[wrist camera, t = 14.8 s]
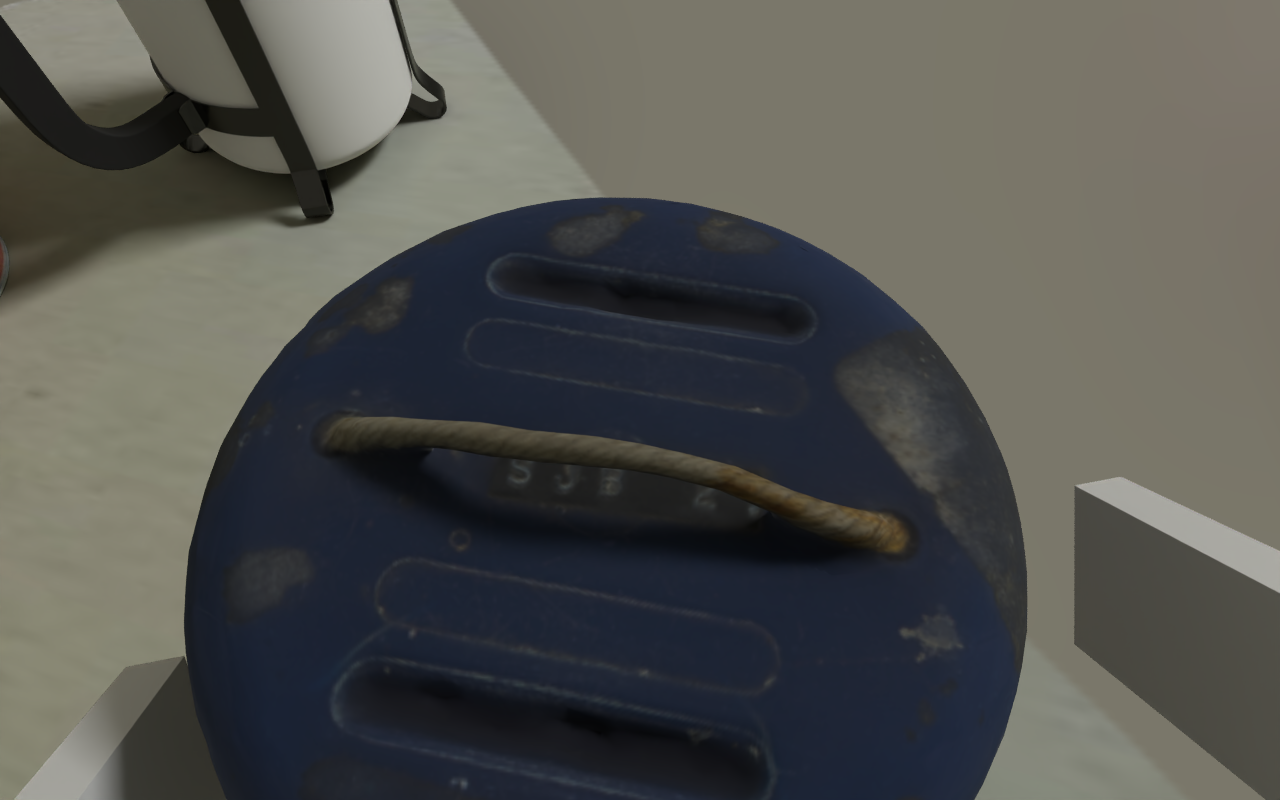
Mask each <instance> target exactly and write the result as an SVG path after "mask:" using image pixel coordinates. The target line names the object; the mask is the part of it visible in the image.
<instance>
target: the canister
mask: <svg viewBox="0 0 1280 800" xmlns="http://www.w3.org/2000/svg"><path fill="white" fill-rule="evenodd" d="M1026 633H1027V571H1026V559H1025V550H1024V542H1023V535H1022V528H1021V522H1020V517H1019V513H1018V508H1017V503H1016V499H1015V495H1014V491H1013V487H1012V484H1011V480H1010V477H1009V473H1008V470H1007V467H1006V465H1005V462H1004V459H1003V457H1002V454H1001V452H1000V450H999V447H998V445H997V443H996V441H995V438H994V436H993V434H992V432H991V430H990V427H989V425H988V423H987V421H986V419H985V417H984V415H983V413H982V411H981V410H980V408H979V406H978V404H977V403H976V401H975V399H974V397H973V396H972V394H971V392H970V391H969V389H968V387H967V385H966V384H965V382H964V381H963V379H962V378H961V376H960V375H959V374H958V372H957V371H956V369H955V368H954V366H953V365H952V364H951V362H950V361H949V359H948V358H947V357H946V355H945V354H944V352H943V351H942V350H941V348H940V347H939V346H938V345H937V343H936V342H935V341H934V340H933V339H932V338H931V336H930V335H929V334H928V333H927V332H926V331H925V329H924V328H923V327H922V326H921V325H920V324H919V323H918V322H917V321H916V320H915V319H913V318H912V317H911V316H910V315H909V314H908V313H907V312H906V311H905V310H904V309H903V308H902V307H901V306H899V305H898V304H897V303H896V302H895V301H894V300H893V299H891V298H890V297H889V296H888V295H887V294H885V293H884V292H883V291H882V290H880V289H879V288H878V287H877V286H875V285H874V284H873V283H872V282H871V281H869V280H868V279H867V278H866V277H864V276H863V275H862V274H860V273H859V272H858V271H856V270H855V269H853V268H851V267H849V266H848V265H846V264H845V263H843V262H842V261H840V260H838V259H837V258H835V257H833V256H832V255H830V254H829V253H827V252H825V251H823V250H821V249H819V248H817V247H815V246H814V245H812V244H810V243H808V242H806V241H804V240H802V239H800V238H798V237H795V236H793V235H791V234H789V233H786V232H784V231H782V230H780V229H777V228H774V227H772V226H769V225H766V224H763V223H760V222H757V221H754V220H751V219H748V218H745V217H742V216H738V215H734V214H731V213H727V212H723V211H719V210H715V209H711V208H707V207H702V206H698V205H694V204H689V203H680V202H673V201H666V200H657V199H649V198H648V199H647V198H585V199H570V200H561V201H553V202H547V203H542V204H536V205H531V206H526V207H521V208H517V209H514V210H510V211H506V212H501V213H497V214H494V215H491V216H488V217H485V218H482V219H479V220H476V221H473V222H470V223H467V224H464V225H461V226H458V227H455V228H452V229H449V230H446V231H443V232H441V233H439V234H437V235H435V236H434V237H432V238H430V239H428V240H426V241H424V242H422V243H420V244H418V245H416V246H414V247H412V248H410V249H408V250H406V251H404V252H402V253H400V254H398V255H396V256H395V257H393V258H391V259H389V260H388V261H386V262H385V263H383V264H382V265H380V266H378V267H377V268H375V269H374V270H372V271H371V272H369V273H368V274H366V275H365V276H363V277H362V278H360V279H359V280H358V281H356V282H355V283H353V284H352V285H350V286H349V287H347V288H346V289H344V290H343V291H341V292H340V293H339V294H337V295H336V296H335V297H333V298H332V299H331V300H330V301H329V302H328V303H327V304H326V305H324V306H323V307H322V308H321V309H320V310H319V311H318V312H317V313H316V314H315V315H314V316H313V317H312V318H311V319H310V320H309V322H308V323H307V325H306V326H305V327H304V328H303V329H302V330H301V331H300V332H299V333H298V334H297V335H296V336H295V337H294V338H293V339H292V340H291V341H290V342H289V343H288V344H287V345H286V346H285V347H284V348H283V350H282V351H281V352H280V354H279V355H278V356H277V358H276V359H275V360H274V362H273V363H272V364H271V365H270V367H269V368H268V369H267V370H266V372H265V373H264V374H263V375H262V377H261V378H260V380H259V381H258V383H257V384H256V386H255V387H254V389H253V390H252V392H251V393H250V395H249V397H248V398H247V400H246V402H245V404H244V405H243V407H242V409H241V410H240V412H239V414H238V416H237V418H236V419H235V421H234V423H233V425H232V426H231V428H230V430H229V432H228V434H227V435H226V437H225V439H224V441H223V443H222V445H221V447H220V450H219V452H218V455H217V458H216V461H215V463H214V466H213V469H212V472H211V474H210V477H209V480H208V483H207V486H206V489H205V492H204V496H203V499H202V503H201V507H200V511H199V515H198V518H197V522H196V526H195V530H194V534H193V537H192V541H191V545H190V549H189V556H188V566H187V577H186V592H185V612H184V634H185V645H186V656H187V664H188V671H189V678H190V684H191V689H192V695H193V700H194V706H195V711H196V716H197V719H198V722H199V724H200V727H201V730H202V732H203V735H204V738H205V740H206V743H207V746H208V750H209V754H210V757H211V760H212V763H213V766H214V769H215V772H216V775H217V777H218V780H219V782H220V785H221V787H222V790H223V792H224V795H225V797H226V799H227V800H974V799H975V797H976V796H977V794H978V792H979V790H980V788H981V786H982V785H983V782H984V780H985V778H986V776H987V773H988V771H989V769H990V766H991V764H992V762H993V759H994V757H995V755H996V752H997V750H998V748H999V746H1000V743H1001V741H1002V739H1003V736H1004V733H1005V730H1006V726H1007V723H1008V720H1009V716H1010V713H1011V709H1012V706H1013V702H1014V699H1015V695H1016V692H1017V687H1018V682H1019V677H1020V673H1021V668H1022V662H1023V654H1024V647H1025V640H1026Z"/></svg>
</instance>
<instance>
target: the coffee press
mask: <svg viewBox="0 0 1280 800" xmlns="http://www.w3.org/2000/svg"><path fill="white" fill-rule="evenodd" d="M117 2H118V3H119V5H120V7H121V8H122V10H123V12H124V13H125V15H126V17H127V18H128V20H129V22H130V23H131V25H132V27H133V28H134V30H135V32H136V33H137V35H138V37H139V38H140V40H141V41H142V43H143V45H144V46H145V48H146V50H147V51H148V53H149V55H150V60H151V63H152V66H153V69H154V71H155V73H156V74H157V76H158V78H159V79H160V81H161V82H162V84H163V86H164V87H165V89H166V91H167V92H168V94H167V95H165V96H164V98H163V100H162V101H161V102H160V103H159V104H157V105H156V106H154V107H153V108H151V109H150V110H148V111H147V112H145V113H144V114H142V115H140V116H139V117H137V118H136V119H134V120H132V121H130V122H129V123H126V124H124V125H122V126H118V127H114V128H102V127H96V126H92V125H89V124H86V123H85V122H83V121H82V120H81V119H80V118H79V117H78V116H77V115H76V114H75V113H74V111H73V110H72V109H71V108H70V107H69V105H68V104H67V103H66V102H65V100H64V99H63V98H62V96H61V95H60V94H59V92H58V91H57V90H56V88H55V87H54V86H53V85H52V83H51V82H50V81H49V79H48V78H47V77H46V75H45V74H44V73H43V71H42V70H41V69H40V67H39V66H38V65H37V63H36V62H35V61H34V59H33V58H32V57H31V55H30V54H29V53H28V51H27V50H26V49H25V47H24V46H23V45H22V43H21V42H20V41H19V39H18V38H17V37H16V35H15V34H14V33H13V31H12V30H11V29H10V27H9V26H8V25H7V23H6V22H5V21H4V19H3V18H2V17H1V15H0V98H1V99H2V100H3V101H4V102H5V104H6V105H7V106H8V107H9V108H10V109H11V110H12V111H13V113H14V114H15V115H16V116H17V117H18V118H19V119H20V120H21V121H22V122H23V123H24V124H25V125H26V126H27V127H28V128H29V129H30V130H31V131H32V132H33V133H34V134H35V135H36V136H37V137H39V138H40V139H41V140H42V141H44V142H45V143H46V144H48V145H49V146H51V147H52V148H54V149H55V150H57V151H58V152H60V153H62V154H63V155H65V156H67V157H68V158H70V159H72V160H74V161H77V162H79V163H81V164H83V165H87V166H90V167H93V168H98V169H104V170H123V169H129V168H133V167H136V166H140V165H143V164H145V163H147V162H149V161H152V160H154V159H156V158H157V157H159V156H161V155H163V154H165V153H166V152H168V151H169V150H171V149H172V148H174V147H176V146H177V145H178V144H180V145H181V146H182V147H183V148H184V149H186V150H187V151H190V152H194V153H201V152H204V151H206V150H207V149H208V148H209V147H211V148H212V149H213V150H214V151H216V152H217V153H218V154H220V155H222V156H223V157H225V158H227V159H228V160H230V161H232V162H234V163H237V164H239V165H241V166H244V167H247V168H250V169H254V170H258V171H263V172H270V173H284V174H290V173H291V175H292V178H293V181H294V185H295V188H296V191H297V195H298V198H299V201H300V205H301V208H302V211H303V213H304V215H305V216H306V217H307V218H311V217H317V216H323V215H330V214H333V213H334V207H333V201H332V197H331V192H330V188H329V184H328V179H327V173H326V168H330V167H333V166H336V165H339V164H342V163H344V162H347V161H349V160H351V159H354V158H356V157H358V156H359V155H361V154H363V153H365V152H366V151H368V150H370V149H371V148H373V147H374V146H375V145H377V144H378V143H379V142H380V141H382V140H383V139H384V138H385V137H386V136H387V135H388V134H389V133H390V132H391V131H392V130H393V129H394V127H395V126H396V125H397V124H398V122H399V121H400V119H401V118H402V116H403V114H404V112H405V110H406V108H409V109H411V110H414V111H416V112H417V113H419V114H421V115H423V116H425V117H427V118H431V119H435V118H439V117H441V116H443V115H444V114H445V112H446V109H447V107H446V99H445V92H444V89H443V87H442V86H441V85H440V84H439V83H437V82H436V81H435V80H433V79H432V78H431V77H430V76H428V75H427V74H426V73H425V72H424V71H423V70H422V69H421V68H420V67H419V66H418V65H417V63H416V62H415V59H414V57H413V54H412V51H411V47H410V44H409V40H408V37H407V33H406V30H405V26H404V23H403V19H402V16H401V12H400V9H399V5H398V2H397V0H117ZM405 48H406V49H405ZM407 55H408V56H407ZM408 59H409V60H408ZM409 62H410V64H409ZM410 65H411V68H412V71H413V74H414V76H415V78H416V80H417V81H418V83H419V84H420V85H421V86H422V87H423V88H425V89H426V90H427V91H428V92H429V93H431V94H432V95H433V96H435V97H436V98H437V99H439V100H438V101H435V102H428V101H425V100H423V99H421V98H420V97H418V96H416V95H414V94H412V93H411V90H412V74H411V68H410ZM195 133H198V134H199V135H193V134H195Z"/></svg>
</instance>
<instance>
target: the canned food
mask: <svg viewBox="0 0 1280 800" xmlns="http://www.w3.org/2000/svg"><path fill="white" fill-rule="evenodd" d="M8 272H9V255H8V251H7V247H6V245H5V243H4V241H3V239H2V238H1V236H0V296H1V294H2V292H3V289H4V287H5V284H6V281H7V277H8Z"/></svg>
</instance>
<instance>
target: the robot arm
mask: <svg viewBox="0 0 1280 800" xmlns="http://www.w3.org/2000/svg"><path fill="white" fill-rule="evenodd" d="M1074 628H1075V631H1074V635H1075V636H1074V639H1075V640H1074V644H1075V645H1076V646H1077V647H1079V648H1080V649H1081V650H1082V651H1084V652H1085V653H1086V654H1087V655H1089V656H1090V657H1091V658H1092V659H1093V660H1095V661H1096V662H1097V663H1098V664H1099V665H1101V666H1102V667H1103V668H1105V669H1106V670H1107V671H1108V672H1109V673H1111V674H1112V675H1113V676H1114V677H1115V678H1117V679H1118V680H1119V681H1121V682H1122V683H1123V684H1124V685H1125V686H1127V687H1128V688H1129V689H1130V690H1131V691H1133V692H1134V693H1135V694H1136V695H1138V696H1139V697H1140V698H1141V699H1143V700H1144V701H1145V702H1146V703H1147V704H1149V705H1150V706H1151V707H1152V708H1154V709H1155V710H1156V711H1157V712H1159V713H1160V714H1161V715H1162V716H1164V717H1165V718H1166V719H1167V720H1169V721H1170V722H1171V723H1172V724H1173V725H1175V726H1176V727H1177V728H1178V729H1179V730H1181V731H1182V732H1183V733H1184V734H1186V735H1187V736H1188V737H1189V738H1191V739H1192V740H1193V741H1194V742H1195V743H1197V744H1198V745H1199V746H1200V747H1202V748H1203V749H1204V750H1206V751H1207V752H1208V753H1209V754H1211V756H1213V757H1214V758H1215V759H1216V760H1218V761H1219V762H1220V763H1221V764H1223V765H1224V766H1225V767H1226V768H1227V769H1229V770H1230V771H1231V772H1232V773H1234V774H1235V775H1236V776H1237V777H1239V778H1240V779H1241V780H1242V781H1243V782H1245V783H1246V784H1247V785H1248V786H1250V787H1251V788H1252V789H1253V790H1255V791H1256V792H1257V793H1258V794H1259V795H1261V796H1262V797H1263V798H1265V799H1266V800H1280V551H1278V550H1276V549H1274V548H1272V547H1269V546H1268V545H1265V544H1263V543H1261V542H1259V541H1257V540H1255V539H1253V538H1250V537H1248V536H1246V535H1244V534H1242V533H1240V532H1238V531H1236V530H1233V529H1231V528H1229V527H1227V526H1225V525H1223V524H1221V523H1219V522H1216V521H1214V520H1212V519H1210V518H1208V517H1206V516H1204V515H1201V514H1199V513H1197V512H1195V511H1193V510H1191V509H1189V508H1186V507H1184V506H1182V505H1180V504H1178V503H1176V502H1174V501H1171V500H1169V499H1167V498H1165V497H1163V496H1161V495H1159V494H1157V493H1155V492H1152V491H1150V490H1148V489H1146V488H1144V487H1142V486H1140V485H1138V484H1135V483H1133V482H1131V481H1129V480H1127V479H1125V478H1123V477H1117V478H1112V479H1107V480H1102V481H1096V482H1091V483H1086V484H1080V485H1075V626H1074ZM14 800H227V799H226V797H225V795H224V792H223V790H222V787H221V785H220V782H219V780H218V777H217V775H216V772H215V769H214V766H213V763H212V760H211V757H210V754H209V750H208V746H207V743H206V740H205V738H204V735H203V732H202V730H201V727H200V724H199V722H198V719H197V716H196V711H195V706H194V700H193V695H192V689H191V684H190V678H189V671H188V666H187V663H186V660H185V657H184V656H182V657H176V658H171V659H166V660H161V661H156V662H150V663H145V664H140V665H135V666H129V667H126V668H125V669H124V670H123V671H122V672H121V674H120V675H119V676H118V677H117V678H116V680H115V681H114V682H113V683H112V684H111V685H110V687H109V688H108V689H107V690H106V691H105V693H104V694H103V695H102V696H101V697H100V698H99V700H98V701H97V702H96V703H95V704H94V706H93V707H92V708H91V709H90V710H89V711H88V713H87V714H86V715H85V716H84V717H83V718H82V720H81V721H80V722H79V723H78V724H77V726H76V727H75V728H74V729H73V730H72V731H71V733H70V734H69V735H68V736H67V737H66V739H65V740H64V741H63V742H62V743H61V744H60V746H59V747H58V748H57V749H56V750H55V752H54V753H53V754H52V755H51V756H50V757H49V759H48V760H47V761H46V762H45V763H44V765H43V766H42V767H41V768H40V769H39V770H38V772H37V773H36V774H35V775H34V776H33V778H32V779H31V780H30V781H29V782H28V783H27V785H26V786H25V787H24V788H23V789H22V791H21V792H20V793H19V794H18V795H17V796H16V798H15V799H14Z"/></svg>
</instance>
